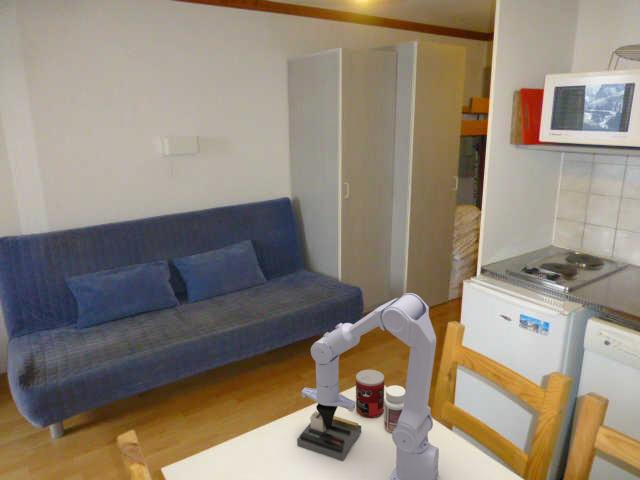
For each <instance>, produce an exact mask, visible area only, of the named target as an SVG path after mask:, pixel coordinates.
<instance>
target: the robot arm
mask: <svg viewBox="0 0 640 480" xmlns="http://www.w3.org/2000/svg"><path fill="white" fill-rule="evenodd" d="M429 311H430V307H429V305H428V304H427V303H426V302H425V301H424V300H423V299H422V298H421V297H420V296H419V295H418V294H416V293H413V292H407V293H404V294H403V295H401V296H400V297H395V298H394V299H392V300H389V301H388V302H386V303H384V304H382V305H380V306H378V307H376V308H375V309H374V310H373V311H371V312H370V313H368V314H367V315H365V316H364V317H362V318H361V319H359V320H358V321H356V322H355V323H354V324H353V323H350V322H346V323H345V322H344V323H342V322H340V323H339V324H337V325H336V326H335V327H334V328H335V329H334V330H332V331H330V332H329V331H327V332H325V333H324V334H323V336H322V337H321V338H320V339H318V340H317V341H314V343H313V344H312V346H311V347H310V354H311V357H312V359H313V360H314V361H315V383H316V386H315V387H316V388H310V387H304V388H303V389H302V390H301V398H303V399H306V398H309V399H311V400H313V401H315V403H317V404H316V408H315V409H316V411H317V412H319V413H320V415H321V416H322V419H323V421H324V424H325V427H326V429H329V428H330V427H331V425H332V420H333V417H334V416H335V413H336V411H337V409H338V407H340V408H343V409H346V410H348V411H349V412H351V413H353V411H355V409H356V400H352V399H351V398H348V397H346V396H345V395H343V394H342V393H340V386H339V385H340V384H339V383H340V382H339V381H340V379H339V375H340V374H339V361H340V355H342V354H343V353H345V352H347V351H348V350H350V349H352V348H354V347H355V346H357V345H358V344H359V343H360V340H361V336H363V335H365V334H367V333H368V332H371V331H372V330H374V329H376V328H380V330H382V331H386V330H387V331H388V332H389V333H390V334H391V335H393V336H394V337H396V338H397V339H398V340H400V341H401V342H402V343H404V344H405V345H406V346H408V347H409V348H410V350H409V358H408V364H407V365H408V366H407V373H406V381H405V398H404V407H403V410H402V412H401V415H400V417H399V419H398V424H397V427H396V428H395V429H394V431H393V433H392V435H391V438H392V441H393V443H394V445H395V447H396V463H395V465H396V466H395V467H394V470H393V471H392V473H391V476H390V478H389V479H390V480H436V479H437V477H438V473H439V458H440V457H439V456H440V450H439V448H438V447H436V446H434V445H433V444H431V443H430V442H429V436H428V434H429V432H430V431H431V430H432V429H433V426H434V421H433V417H432V411H431V410H432V408H431V406H429V398H430V390H431V382H432V375H433V369H434V361H435V355H436V354H435V353H436V345H437V337H436V336H437V335H436V333H435V329H434V326H433V324H432V321H431V319H430V315H429V314H430V312H429Z"/></svg>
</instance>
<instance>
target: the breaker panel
mask: <svg viewBox="0 0 640 480" xmlns="http://www.w3.org/2000/svg"><path fill="white" fill-rule="evenodd" d="M361 433H362V425H360V424H359V423H358V422H355V421H352V420H349V419H346V418H341V417H338V416H335V415H334V417H333V420H332V425H331V427H330V428H329V429H326V430H325V432H324V433H323V432H320V431H317V430H314V429H311V422H310V423H309V424H308V425H307V426H306V427H305V429H303V431H302V432H301V434H300V435H299V436H298V437H297V438H296V445H297V446H298V447H300V448H303V449H306V450H309V451H312V452H315V453H317V454H322V455H323V456H327V457H330V458H333V459H335V460H338V461H341V462H343V461H344V460H345V459H346V457H347V455H348V454H349V453H350V451H351V449H352V448H353V446H354V445H355V443H356V441H357V440H358V438H359V437H360V435H361Z"/></svg>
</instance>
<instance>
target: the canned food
mask: <svg viewBox="0 0 640 480" xmlns="http://www.w3.org/2000/svg"><path fill="white" fill-rule="evenodd" d="M384 401H385V375H384V374H383V373H382V372H381V371H378V370H377V369H376V370H375V369H363V370H360V371H359V372H357V373H356V376H355V409H356V411H357V413H358V414H359V415H360V416H362V417H364V418H369V419H370V418H371V419H372V418H377V417H380V416H381V415H382V414H383V413H384Z"/></svg>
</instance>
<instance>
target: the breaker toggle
mask: <svg viewBox="0 0 640 480" xmlns="http://www.w3.org/2000/svg"><path fill="white" fill-rule="evenodd" d="M309 419H310V423H311V429H314V430H317V431H320V432H323V433H324V432H325V430H326V427H325V424H324V421H323V419H322V416H321V415H320V413H319V412H318V410H315V411H314V412H313V413H312V414H311V416H310V417H309Z"/></svg>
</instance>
